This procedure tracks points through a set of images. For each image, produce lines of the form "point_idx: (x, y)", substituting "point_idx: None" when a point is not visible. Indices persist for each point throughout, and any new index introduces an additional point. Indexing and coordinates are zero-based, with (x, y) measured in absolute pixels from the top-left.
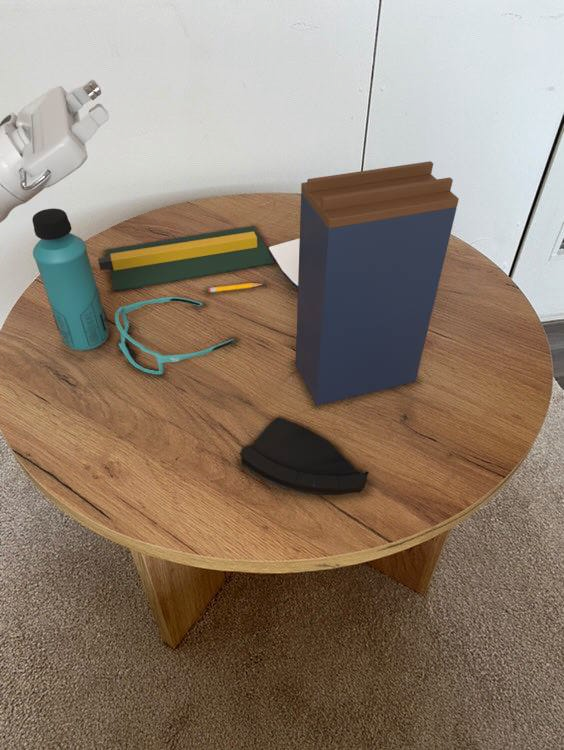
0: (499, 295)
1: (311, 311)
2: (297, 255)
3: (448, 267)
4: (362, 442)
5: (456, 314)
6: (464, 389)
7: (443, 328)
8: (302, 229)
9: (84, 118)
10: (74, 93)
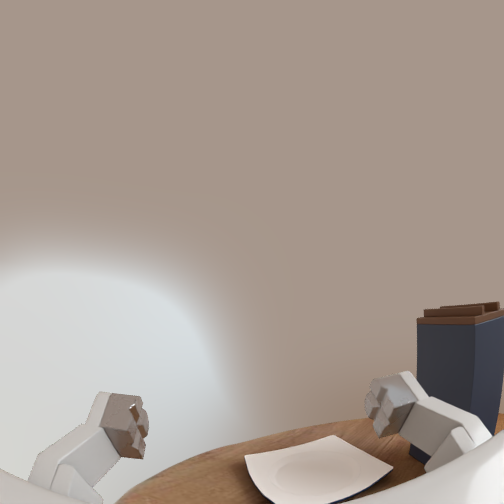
0: (342, 425)
1: (489, 402)
2: (293, 496)
3: (309, 438)
4: None
5: (366, 436)
6: None
7: (383, 439)
8: (478, 352)
9: (445, 407)
10: (66, 463)
